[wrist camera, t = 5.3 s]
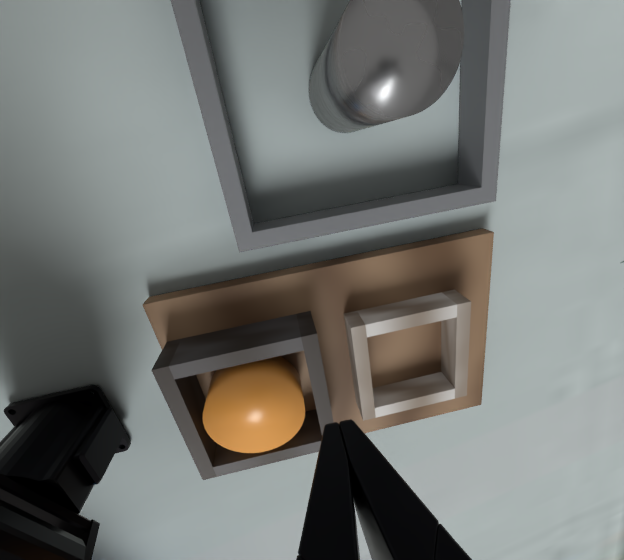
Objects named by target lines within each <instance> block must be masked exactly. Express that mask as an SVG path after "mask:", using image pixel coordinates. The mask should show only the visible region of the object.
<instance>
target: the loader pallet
mask: <svg viewBox="0 0 624 560" xmlns="http://www.w3.org/2000/svg"><path fill="white" fill-rule="evenodd" d="M493 236H494V232H492V231H489V230H486V229H483V228H482V229H477V230H472V231H467V232H463V233H458V234H453V235H448V236H443V237H438V238H433V239H429V240H424V241H419V242H414V243H409V244H404V245H399V246H394V247H390V248H385V249H380V250H375V251H370V252H365V253H360V254H355V255H351V256H346V257H341V258H336V259H331V260H326V261H321V262H316V263H312V264H307V265H302V266H297V267H292V268H287V269H282V270H278V271H273V272H268V273H263V274H258V275H253V276H248V277H243V278H239V279H234V280H229V281H224V282H219V283H214V284H209V285H204V286H200V287H195V288H190V289H185V290H180V291H175V292H170V293H166V294H161V295H156V296H151V297H149V298H148V299H147V300H146V301H145V302H144V304H143V307H144V309H145V312H146V314H147V316H148V318H149V321H150V323H151V325H152V328H153V330H154V332H155V335H156V337H157V339H158V341H159V344H160V346H161V348H162V352H161V354H160V355H159V357H158V359H157V361H156V363H155V365H154V367H153V369H152V372H153V374H154V376H155V378H156V381H157V383H158V385H159V387H160V389H161V391H162V393H163V396H164V398H165V400H166V402H167V404H168V406H169V408H170V411H171V413H172V415H173V417H174V419H175V421H176V423H177V426H178V428H179V430H180V432H181V434H182V436H183V438H184V441H185V443H186V445H187V447H188V449H189V451H190V453H191V456H192V458H193V460H194V462H195V464H196V466H197V468H198V470H199V473H200V475H201V477H202V479H203V480H205V479H209V478H213V477H218V476H222V475H226V474H230V473H234V472H238V471H242V470H246V469H250V468H254V467H258V466H262V465H266V464H270V463H274V462H278V461H282V460H286V459H290V458H294V457H298V456H302V455H306V454H311V453H315V452H319V450H320V445H321V440H322V435H323V430H324V426H325V425H326V424H329V423H334V422H337V423H339V422H340V421H344V420H349V419H352V420H353V421H354V422H355V423H356V424H357V425H358V426H359V428H360V429H361V430H362V431H363V432H364V433H367V432H371V431H375V430H379V429H383V428H388V427H392V426H396V425H400V424H404V423H408V422H412V421H416V420H420V419H424V418H428V417H432V416H436V415H440V414H445V413H449V412H453V411H457V410H461V409H465V408H469V407H473V406H477V405H481V400H482V386H483V373H484V359H485V345H486V332H487V318H488V304H489V290H490V277H491V263H492V249H493ZM277 356H280V357H282V358H284V359H286V360H287V361H288V362H290V363H291V364H292V365H293V366H294V367H295V369H296V370H297V372H298V374H299V376H300V379H301V385H302V392H303V398H304V405H305V418H304V421H303V424H302V426H301V428H300V430H299V431H298V432H297V434H296V435H295V436H294V437H293V438H292V439H290V440H289V441H288V442H286V443H285V444H283V445H281V446H279V447H277V448H275V449H272V450H269V451H265V452H259V453H241V452H236V451H232V450H229V449H227V448H224V447H222V446H221V445H219V444H217V443H216V442H215V441H214V440H213V439H212V438H211V437H210V436H209V435H208V433H207V432H206V430H205V427H204V424H203V410H204V406H205V402H206V398H207V394H208V390H209V386H210V382H211V379H212V377H213V375H214V373H215V372H216V370H219V369H224V368H228V367H232V366H237V365H241V364H246V363H250V362H255V361H259V360H264V359H268V358H273V357H277Z"/></svg>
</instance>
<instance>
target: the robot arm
mask: <svg viewBox="0 0 624 560" xmlns="http://www.w3.org/2000/svg"><path fill="white" fill-rule="evenodd" d="M92 392H94V393H92ZM4 413H5V415H6V416H7V417H8V419H9V420H10V421H11V422H12V424H13V425H14V426H15V427H14V428H13V429H12V430H11V431H10V432H9V433H8V434H7V435H6V436H5V437H4V439H3V440H2V441H1V442H0V560H91V559H92V555H93V550H94V546H95V542H96V538H97V534H98V529H99V525H100V523H98V522H96V521H95V520H93V519H92V520H88V519H87V518H85V517H83V516H81V515H79V513H80V511H81V509H82V507H83V505H84V503H85V501H86V499H87V497H88V495H89V494H90V492H91V490H92V488H93V486H94V485H95V484H98V483H99V482H100V481H101V479H102V477H103V475H104V473H105V471H106V469H107V468H108V466H109V464H110V462H111V460H112V458H113V456H114V454H115V453H119V452H123V451H126V450H128V448H129V446H130V444H131V441H130V439H129V438H128V436H127V434H126V432H125V430H124V429H123V427H122V425H121V423H120V422H119V420H118V418H117V416H116V415H115V413H114V411H113V409H112V408H111V406H110V404H109V402H108V401H107V399H106V397H105V395H104V394H103V392H102V390H101V389H100V387H98V386H96V385H90V386H86V387H81V388H76V389H72V390H67V391H63V392H58V393H54V394H49V395H45V396H40V397H36V398H31V399H27V400H22V401H18V402H13V403H11V404H9V405H8V406H7V407H6V408H5V409H4ZM354 504H355V508H356V511H357V515H358V518H359V521H360V524H361V527H362V530H363V533H364V536H365V539H366V542H367V545H368V548H369V552H370V555H371V558H372V560H472V559H471V558H470V557H469V556H468V555H467V553H466V552H465V551H464V550H463V549H462V548H461V547H460V546H459V544H458V543H457V542H456V541H455V540H454V539H453V538H452V536H451V535H450V534H449V533H448V532H447V530H446V529H445V528H444V527H443V526H442V525H441V524H439V522H438V520H437V519H436V518H435V516H434V515H433V514H432V513H431V512H430V511H429V509H428V508H427V507H426V506H425V505H424V503H423V502H422V501H421V500H420V499H419V498H418V496H417V495H416V494H415V493H414V492H413V490H412V489H411V488H410V487H409V486H408V484H407V483H406V482H405V481H404V480H403V479H402V477H401V476H400V475H399V474H398V473H397V471H396V470H395V469H394V468H393V467H392V465H391V464H390V463H389V462H388V461H387V460H386V458H385V457H384V456H383V455H382V454H381V452H380V451H379V450H378V449H377V448H376V447H375V445H374V444H373V443H372V442H371V441H370V439H369V438H368V437H367V436H366V435H365V433H364V432H363V431H362V430H361V429H360V428H359V426H358V425H357V424H356V423H355V422H354V421H353V420H352V419H349V420H344V421H340V422H339V423H337V422H334V423H329V424H326V425H325V426H324V430H323V435H322V440H321V445H320V450H319V454H318V459H317V464H316V469H315V474H314V478H313V483H312V488H311V493H310V498H309V502H308V507H307V512H306V517H305V522H304V526H303V531H302V536H301V541H300V546H299V550H298V554H299V555H298V556H297V559H296V560H360V554H359V545H358V535H357V526H356V516H355V508H354Z"/></svg>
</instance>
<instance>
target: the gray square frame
mask: <svg viewBox="0 0 624 560" xmlns="http://www.w3.org/2000/svg"><path fill="white" fill-rule="evenodd" d="M171 3H172V6H173V10H174V14H175V18H176V21H177V25H178V29H179V32H180V36H181V40H182V43H183V47H184V51H185V54H186V58H187V62H188V65H189V69H190V73H191V76H192V80H193V84H194V87H195V91H196V95H197V98H198V102H199V106H200V109H201V113H202V117H203V120H204V124H205V128H206V131H207V135H208V139H209V142H210V146H211V150H212V153H213V157H214V161H215V164H216V168H217V172H218V176H219V179H220V183H221V187H222V190H223V194H224V198H225V201H226V205H227V209H228V212H229V216H230V220H231V223H232V227H233V231H234V234H235V238H236V242H237V245H238V249H239V252H243V251H248V250H253V249H258V248H263V247H268V246H273V245H278V244H283V243H288V242H293V241H298V240H303V239H308V238H313V237H318V236H323V235H328V234H333V233H338V232H343V231H348V230H353V229H358V228H363V227H368V226H373V225H378V224H383V223H388V222H393V221H398V220H403V219H408V218H413V217H418V216H423V215H428V214H433V213H438V212H443V211H448V210H453V209H458V208H463V207H468V206H474V205H479V204H484V203H489V202H494V201H496V193H497V179H498V165H499V151H500V138H501V124H502V110H503V96H504V83H505V69H506V55H507V41H508V28H509V14H510V0H462V13H463V20H464V45H463V51H462V56H461V63H460V106H459V148H458V184H455V185H450V186H445V187H440V188H435V189H429V190H424V191H419V192H414V193H409V194H404V195H399V196H393V197H388V198H383V199H378V200H373V201H368V202H362V203H357V204H352V205H347V206H342V207H337V208H332V209H326V210H321V211H316V212H311V213H306V214H301V215H295V216H290V217H285V218H280V219H275V220H270V221H265V222H259V223H254V222H253V218H252V214H251V210H250V206H249V202H248V198H247V194H246V190H245V185H244V181H243V177H242V173H241V169H240V165H239V161H238V157H237V153H236V148H235V144H234V140H233V136H232V132H231V128H230V124H229V120H228V115H227V111H226V107H225V103H224V99H223V95H222V91H221V87H220V83H219V78H218V74H217V70H216V66H215V62H214V58H213V54H212V50H211V46H210V41H209V37H208V33H207V29H206V25H205V21H204V17H203V13H202V8H201V4H200V0H171Z"/></svg>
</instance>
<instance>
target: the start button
mask: <svg viewBox="0 0 624 560" xmlns="http://www.w3.org/2000/svg"><path fill="white" fill-rule="evenodd" d="M304 418H305V405H304V398H303V392H302V385H301V379H300V376H299V374H298V372H297V370H296V369H295V367H294V366H293V365H292V364H291V363H290V362H288V361H287V360H286V359H284V358H282V357H280V356H277V357H273V358H268V359H264V360H259V361H255V362H250V363H246V364H241V365H237V366H232V367H228V368H224V369H219V370H216V372H215V373H214V375H213V377H212V379H211V382H210V386H209V390H208V394H207V398H206V402H205V406H204V410H203V424H204V427H205V430H206V432H207V433H208V435H209V436H210V437H211V438H212V439H213V440H214V441H215V442H216V443H217V444H219V445H221V446H222V447H224V448H227V449H229V450H232V451H236V452H241V453H259V452H265V451H269V450H272V449H275V448H277V447H279V446H281V445H283V444H285V443H286V442H288V441H289V440H290V439H292V438H293V437H294V436H295V435H296V434H297V432H298V431H299V430H300V428H301V426H302V424H303V421H304Z"/></svg>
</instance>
